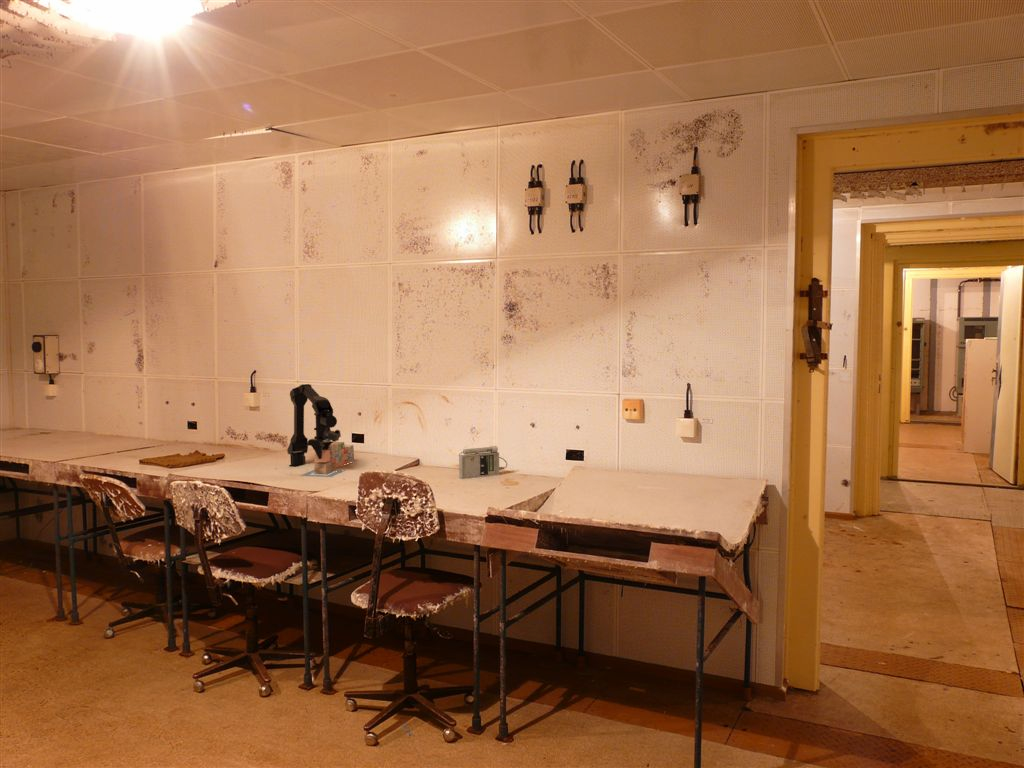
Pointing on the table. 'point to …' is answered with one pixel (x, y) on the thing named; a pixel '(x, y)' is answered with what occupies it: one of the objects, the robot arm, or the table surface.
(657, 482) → the table surface
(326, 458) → the terracotta cube
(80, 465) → the table surface
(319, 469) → the walnut base block
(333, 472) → the board
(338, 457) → the stack of blocks
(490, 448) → the geiger counter
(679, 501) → the table surface
